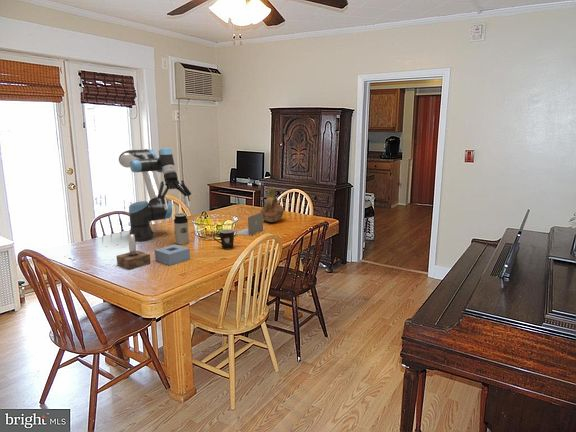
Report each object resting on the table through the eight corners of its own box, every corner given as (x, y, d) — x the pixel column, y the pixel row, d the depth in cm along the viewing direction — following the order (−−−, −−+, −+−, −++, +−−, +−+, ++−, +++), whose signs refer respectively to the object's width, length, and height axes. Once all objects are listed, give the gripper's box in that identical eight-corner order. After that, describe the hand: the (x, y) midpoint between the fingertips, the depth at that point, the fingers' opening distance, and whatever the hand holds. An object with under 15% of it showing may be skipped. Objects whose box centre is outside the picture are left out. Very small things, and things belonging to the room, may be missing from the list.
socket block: (155, 260, 222) (154, 249, 221) (175, 254, 232) (175, 244, 230) (169, 265, 214) (168, 254, 212) (190, 259, 223) (189, 248, 222)
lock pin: (129, 262, 216) (126, 234, 213) (135, 261, 218) (132, 233, 215) (132, 263, 214) (129, 235, 211) (138, 262, 216) (135, 234, 213)
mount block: (117, 264, 216) (116, 255, 215) (138, 259, 225) (137, 250, 224) (129, 269, 208) (128, 260, 207) (150, 263, 217) (149, 254, 216)
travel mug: (175, 242, 257) (173, 213, 253) (188, 240, 259) (186, 212, 255) (176, 245, 249) (174, 216, 245) (189, 243, 252) (187, 215, 248)
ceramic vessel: (286, 217, 320) (285, 185, 315) (281, 225, 295) (280, 190, 289) (264, 217, 322) (263, 185, 317) (257, 224, 297) (256, 190, 292)
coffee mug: (237, 246, 246) (236, 229, 244) (230, 250, 238) (230, 233, 236) (220, 244, 250) (219, 228, 248) (213, 248, 242) (212, 232, 240)
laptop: (248, 228, 290) (247, 210, 287) (263, 230, 284) (262, 211, 281) (233, 234, 274) (232, 215, 271) (248, 236, 268) (248, 217, 266)
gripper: (151, 172, 233) (159, 208, 230) (191, 170, 249) (199, 204, 246) (147, 176, 238) (154, 211, 235) (186, 175, 255) (194, 207, 252)
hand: (177, 208), depth 241 cm, fingers open, 13 cm apart
